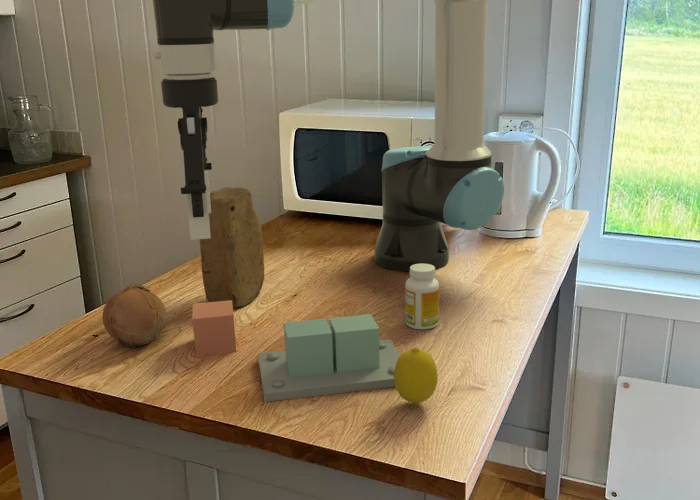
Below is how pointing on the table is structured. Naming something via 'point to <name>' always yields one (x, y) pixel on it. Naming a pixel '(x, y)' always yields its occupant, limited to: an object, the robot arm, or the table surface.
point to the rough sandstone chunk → (232, 249)
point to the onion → (134, 316)
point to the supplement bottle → (422, 297)
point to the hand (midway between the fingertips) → (201, 225)
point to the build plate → (326, 381)
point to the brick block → (214, 327)
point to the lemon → (415, 375)
